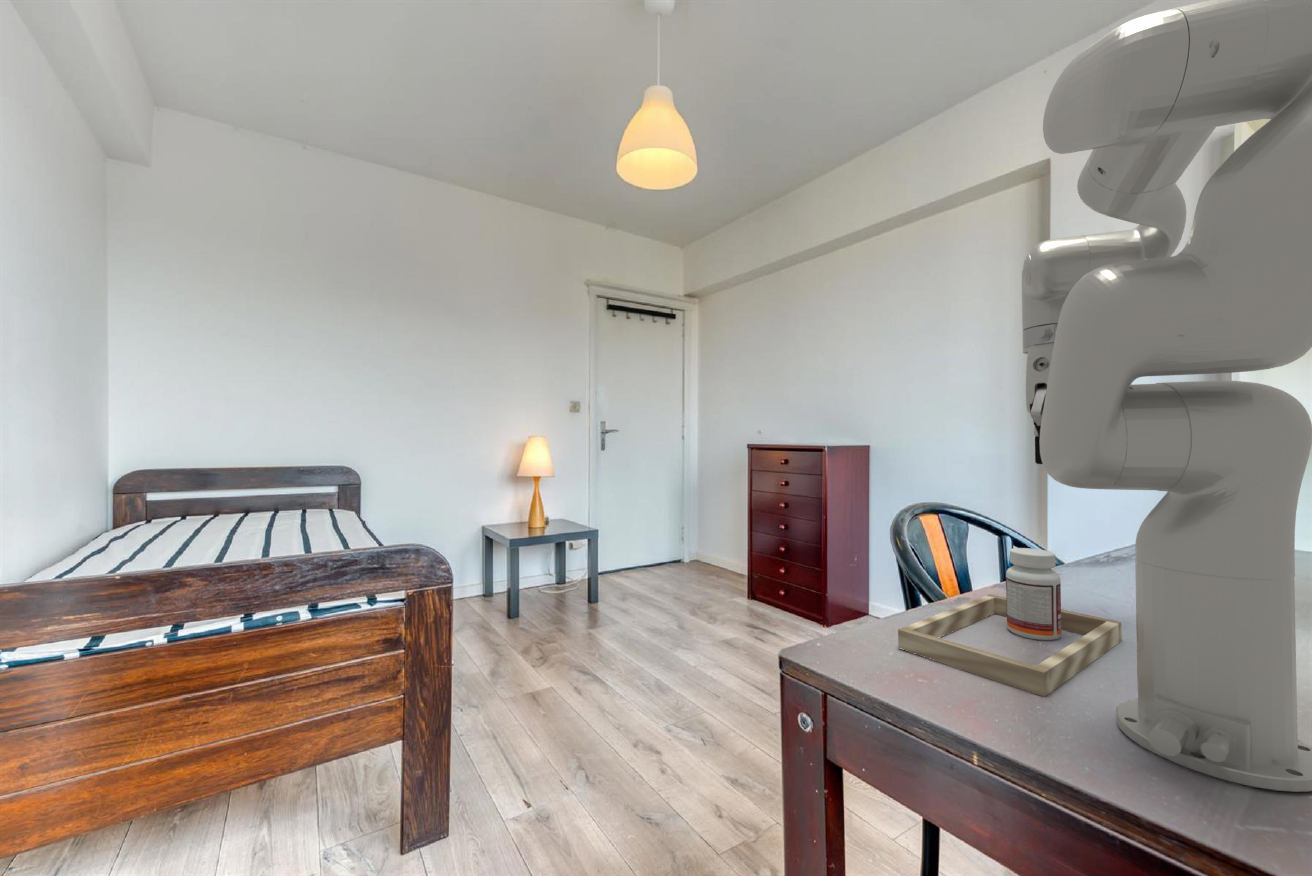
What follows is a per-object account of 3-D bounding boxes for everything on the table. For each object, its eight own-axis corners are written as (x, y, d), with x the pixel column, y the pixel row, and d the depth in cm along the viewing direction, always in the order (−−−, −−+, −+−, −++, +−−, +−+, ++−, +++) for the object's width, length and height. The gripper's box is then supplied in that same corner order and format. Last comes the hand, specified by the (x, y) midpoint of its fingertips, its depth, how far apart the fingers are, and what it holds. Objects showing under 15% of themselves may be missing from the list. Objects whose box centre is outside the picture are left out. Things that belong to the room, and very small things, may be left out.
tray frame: (1044, 696, 55) (1044, 672, 55) (898, 648, 68) (898, 629, 68) (1121, 640, 70) (1121, 621, 70) (989, 610, 83) (989, 594, 83)
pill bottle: (1031, 624, 77) (1030, 545, 77) (1073, 639, 71) (1072, 554, 71) (995, 627, 76) (994, 548, 76) (1035, 643, 70) (1034, 557, 70)
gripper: (1062, 329, 71) (1065, 466, 71) (1104, 342, 81) (1106, 462, 80) (1000, 338, 77) (1002, 464, 77) (1045, 349, 87) (1047, 461, 87)
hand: (1055, 462), depth 79 cm, fingers open, 4 cm apart
